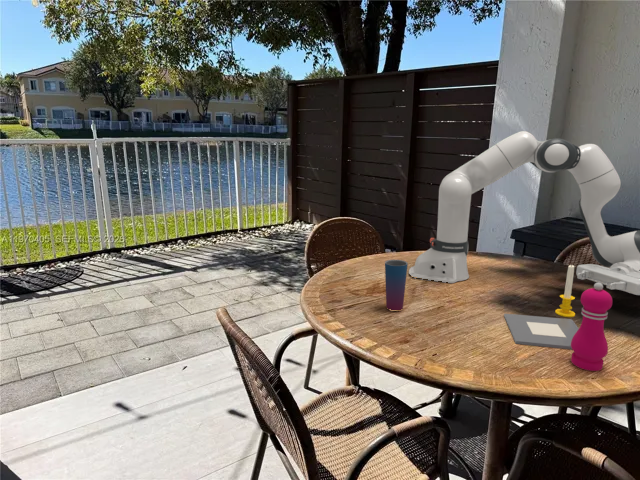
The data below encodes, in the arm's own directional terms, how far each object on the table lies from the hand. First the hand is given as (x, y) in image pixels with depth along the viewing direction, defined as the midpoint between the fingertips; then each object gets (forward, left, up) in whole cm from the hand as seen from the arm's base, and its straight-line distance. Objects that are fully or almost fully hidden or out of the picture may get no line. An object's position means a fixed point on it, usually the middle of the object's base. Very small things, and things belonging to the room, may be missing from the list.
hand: (593, 281), depth 128 cm
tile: (-18, -21, -9) cm, 29 cm away
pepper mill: (-13, -37, -9) cm, 40 cm away
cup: (-59, -14, -9) cm, 61 cm away
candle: (-9, -6, -9) cm, 14 cm away
